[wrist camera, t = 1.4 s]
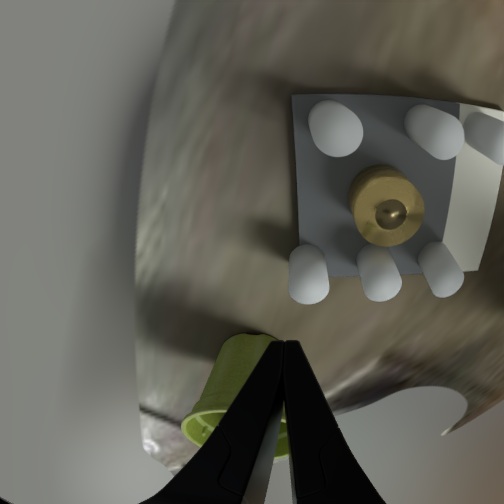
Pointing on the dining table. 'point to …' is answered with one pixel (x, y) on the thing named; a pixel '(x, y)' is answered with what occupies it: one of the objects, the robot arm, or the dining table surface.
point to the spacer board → (418, 173)
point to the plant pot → (229, 389)
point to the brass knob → (385, 205)
